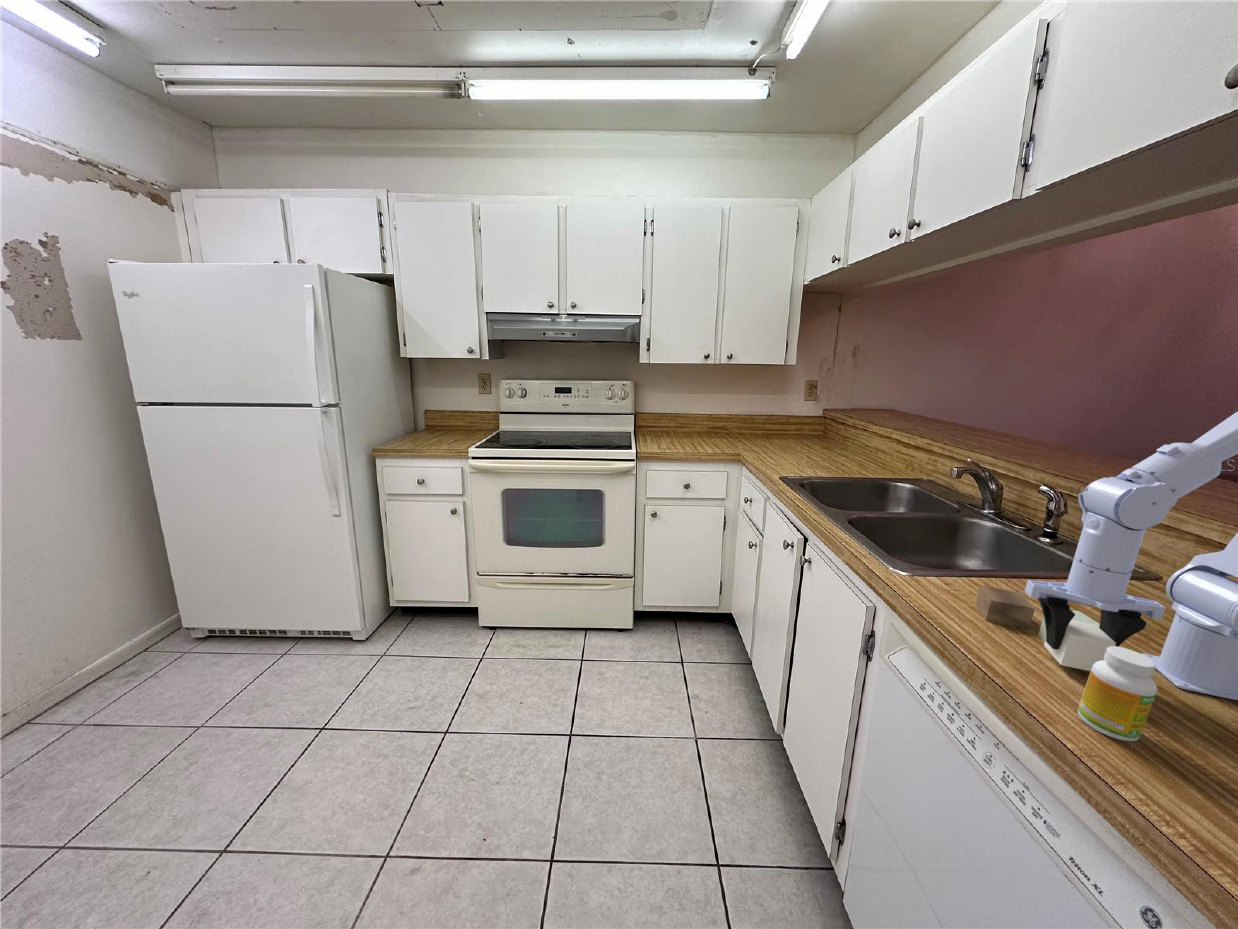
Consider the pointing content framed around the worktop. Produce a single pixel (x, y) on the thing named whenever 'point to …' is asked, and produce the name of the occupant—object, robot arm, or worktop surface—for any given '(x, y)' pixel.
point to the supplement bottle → (1119, 694)
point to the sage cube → (1077, 617)
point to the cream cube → (1081, 645)
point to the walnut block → (1005, 606)
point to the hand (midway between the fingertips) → (1075, 650)
